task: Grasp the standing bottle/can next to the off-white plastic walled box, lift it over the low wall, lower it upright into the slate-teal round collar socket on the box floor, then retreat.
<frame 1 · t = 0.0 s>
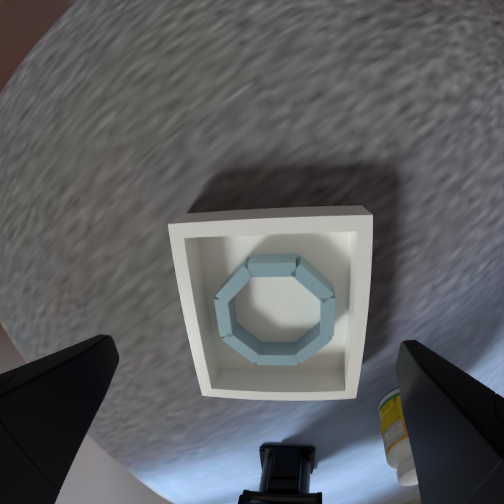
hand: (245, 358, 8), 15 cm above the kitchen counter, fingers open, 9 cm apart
socket box: (277, 302, 24), on the kitchen counter
supplement bottle: (401, 401, 26), on the kitchen counter
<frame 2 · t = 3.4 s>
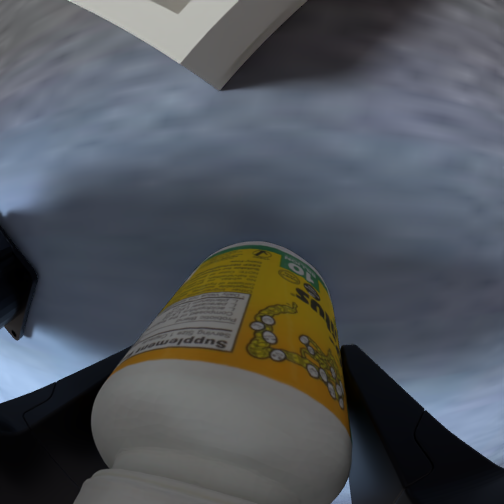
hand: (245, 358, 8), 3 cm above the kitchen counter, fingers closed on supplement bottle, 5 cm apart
supplement bottle: (260, 305, 11), on the kitchen counter, touching gripper
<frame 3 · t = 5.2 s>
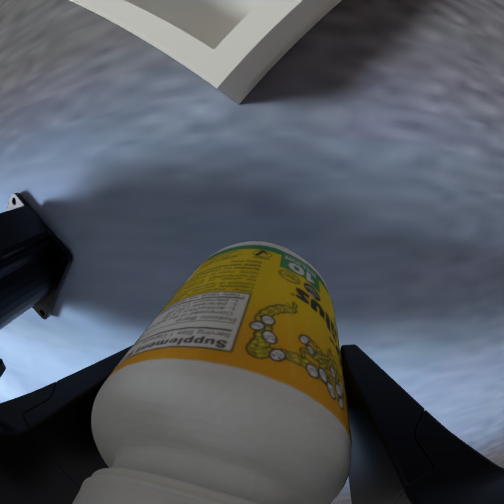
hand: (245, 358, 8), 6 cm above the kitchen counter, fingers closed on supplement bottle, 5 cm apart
supplement bottle: (260, 305, 11), point 3 cm above the kitchen counter, touching gripper
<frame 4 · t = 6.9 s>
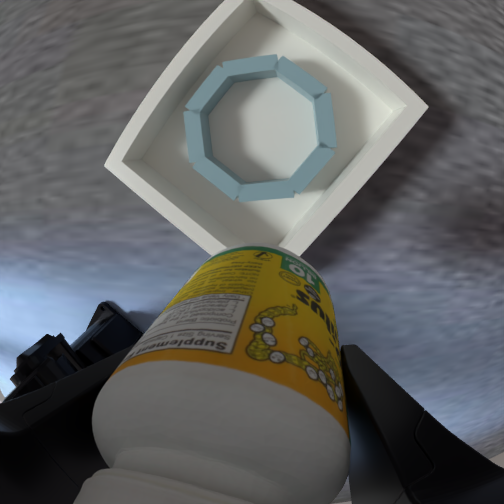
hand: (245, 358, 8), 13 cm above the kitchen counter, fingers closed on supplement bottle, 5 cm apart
socket box: (263, 129, 19), on the kitchen counter
supplement bottle: (261, 306, 11), point 10 cm above the kitchen counter, touching gripper
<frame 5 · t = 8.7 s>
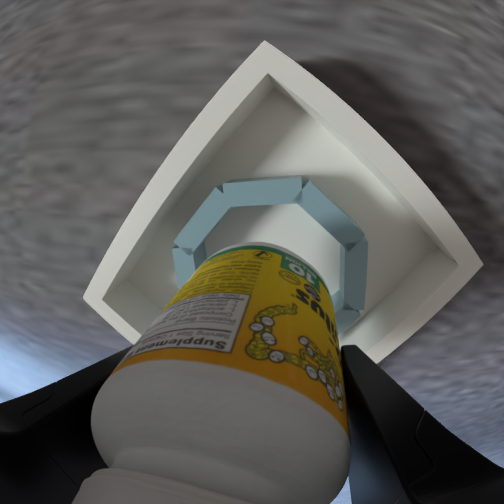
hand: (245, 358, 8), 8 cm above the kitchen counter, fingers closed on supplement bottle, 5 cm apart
socket box: (274, 259, 16), on the kitchen counter
supplement bottle: (261, 306, 11), point 5 cm above the kitchen counter, touching gripper
when the fingers open (5 cm above the kitchen counter, at t = 10.3 s): supplement bottle stays where it is, resting on socket box.
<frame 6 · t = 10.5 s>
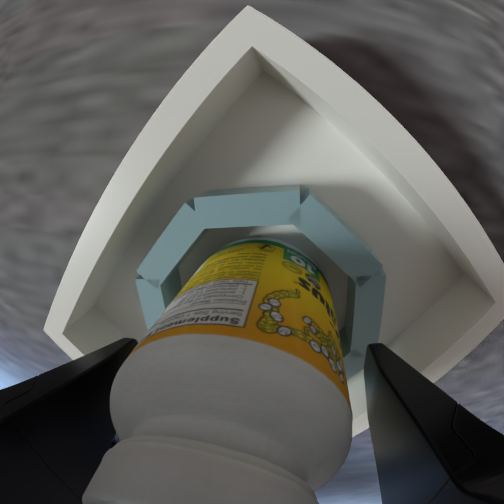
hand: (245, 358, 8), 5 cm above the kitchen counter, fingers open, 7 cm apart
socket box: (265, 289, 13), on the kitchen counter
supplement bottle: (263, 298, 12), point 1 cm above the kitchen counter, touching socket box
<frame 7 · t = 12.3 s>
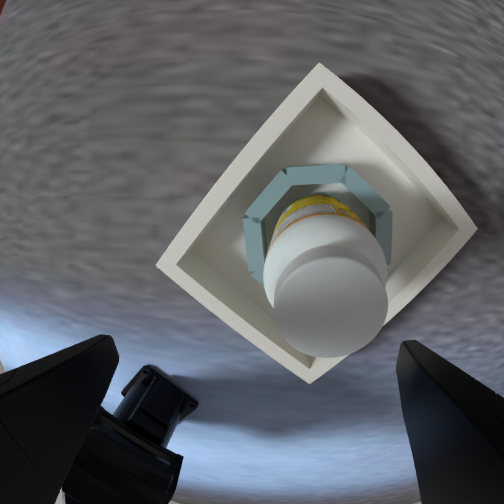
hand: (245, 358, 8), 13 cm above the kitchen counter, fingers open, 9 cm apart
socket box: (317, 230, 19), on the kitchen counter
supplement bottle: (318, 234, 19), point 1 cm above the kitchen counter, touching socket box
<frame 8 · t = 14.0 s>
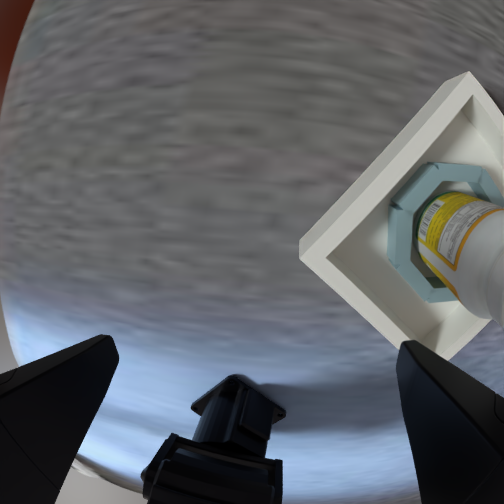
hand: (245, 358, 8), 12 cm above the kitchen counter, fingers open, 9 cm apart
socket box: (441, 226, 17), on the kitchen counter
supplement bottle: (445, 229, 17), point 1 cm above the kitchen counter, touching socket box
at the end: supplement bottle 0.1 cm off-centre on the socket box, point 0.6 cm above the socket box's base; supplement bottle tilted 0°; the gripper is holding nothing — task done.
